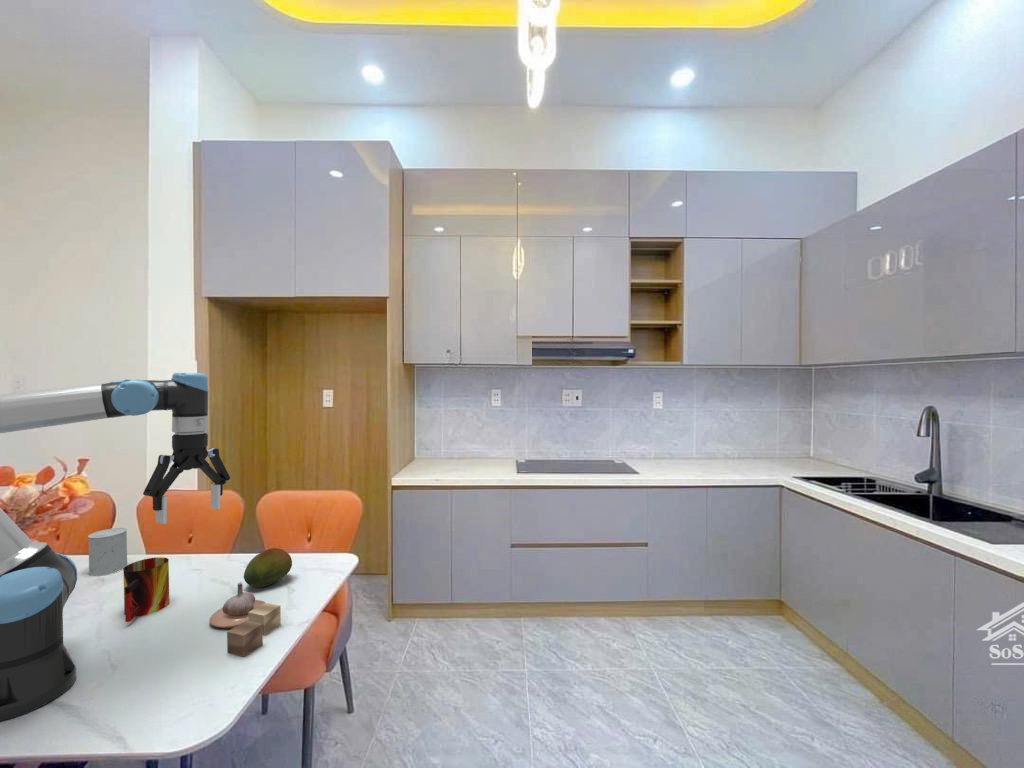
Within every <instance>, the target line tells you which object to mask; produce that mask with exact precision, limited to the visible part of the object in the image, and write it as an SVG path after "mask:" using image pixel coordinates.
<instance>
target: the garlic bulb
mask: <svg viewBox="0 0 1024 768" xmlns="http://www.w3.org/2000/svg"><path fill="white" fill-rule="evenodd" d="M255 600H256V596H255V594H253V593H252V592H250V591H244V590H243V582H241V581H240V582H237V594H235V595H233V596H231V597H230V598H228V599H227V600H226V601H225V603H224V604H223V606H222V608H223V612H224V613H225V614H227V615H244V614H248V612H250V611H251V610H253V607H254V606H253V604H254V602H255Z"/></svg>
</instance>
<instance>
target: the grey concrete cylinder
mask: <svg viewBox="0 0 1024 768" xmlns="http://www.w3.org/2000/svg"><path fill="white" fill-rule="evenodd" d="M127 533H128V532H127V528H125V527H114V528H106V529H102V530H98V531H95V532H92V533H89V534H88V536H87V537H88V539H87V540H88V541H87V542H88V575H89V576H91V577H101V576H108V575H112V574H111V573H113V574H116V573H118V572H117V571H119V570H121V571H123V570H122V569H124V567H125V566H127V565H128V543H127V542H128V541H127V540H128V538H127ZM115 572H116V573H115ZM119 572H120V571H119Z"/></svg>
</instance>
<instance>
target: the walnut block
mask: <svg viewBox="0 0 1024 768" xmlns="http://www.w3.org/2000/svg"><path fill="white" fill-rule="evenodd" d="M263 636H264V635H263V629H262V624H260V623H255V622H251V621H247V620H246V621H245V622H243V623H241V624H239V625H238V626H236V627H234V628H230V629H228V630H227V632H226V642H227V643H226V647H227V649H226V650H227V654H230V655H234V656H237V657H241V658H246V657H247V656H249V655H250V654H252V653H253V652H254V651H256V650H258V649H259V648H261V647H262V646H264V642H263V641H264V639H263Z"/></svg>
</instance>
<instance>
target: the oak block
mask: <svg viewBox="0 0 1024 768" xmlns="http://www.w3.org/2000/svg"><path fill="white" fill-rule="evenodd" d="M281 611H282V610H281V605H279V604H274V603H269V602H265V603H264V604H262V605H260V606H258V607H257V608H255V609H253V610H251V611H250V612H248V621H251V622H255V623H260V624H262V629H263V636H266V635H267V634H269V633H271V632H272V631H273V630H275V629H277V628H278V627H280V626H281V625H282V623H281V622H282V621H281V620H282V619H281V618H282V617H281V615H282V613H281Z"/></svg>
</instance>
